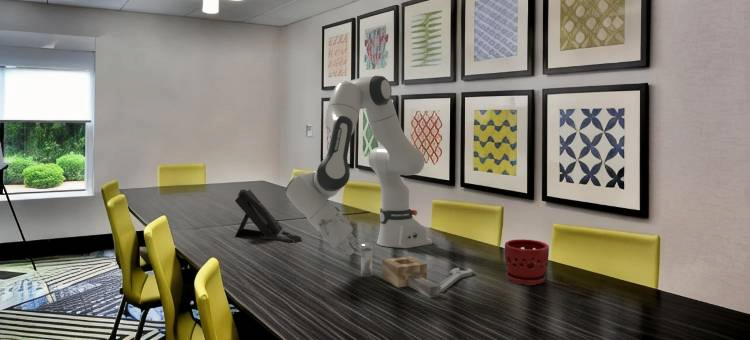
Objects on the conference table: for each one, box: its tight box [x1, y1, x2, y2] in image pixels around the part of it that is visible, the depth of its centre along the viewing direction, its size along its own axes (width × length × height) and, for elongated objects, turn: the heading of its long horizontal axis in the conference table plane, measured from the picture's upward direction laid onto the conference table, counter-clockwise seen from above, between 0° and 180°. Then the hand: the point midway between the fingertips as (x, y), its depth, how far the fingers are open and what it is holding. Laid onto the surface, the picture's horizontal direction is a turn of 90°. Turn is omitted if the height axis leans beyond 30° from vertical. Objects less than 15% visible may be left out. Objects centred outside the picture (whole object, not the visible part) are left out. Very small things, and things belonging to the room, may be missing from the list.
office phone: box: [234, 189, 302, 243], centre depth 230 cm, size 29×28×20 cm
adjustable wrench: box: [437, 267, 474, 293], centre depth 166 cm, size 25×6×2 cm, turn 147°
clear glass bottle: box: [359, 242, 375, 278], centre depth 170 cm, size 4×4×10 cm
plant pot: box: [504, 239, 550, 286], centre depth 166 cm, size 13×13×12 cm
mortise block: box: [381, 256, 440, 299], centre depth 160 cm, size 10×22×6 cm, turn 27°
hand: (355, 249), depth 170 cm, fingers open, 8 cm apart
